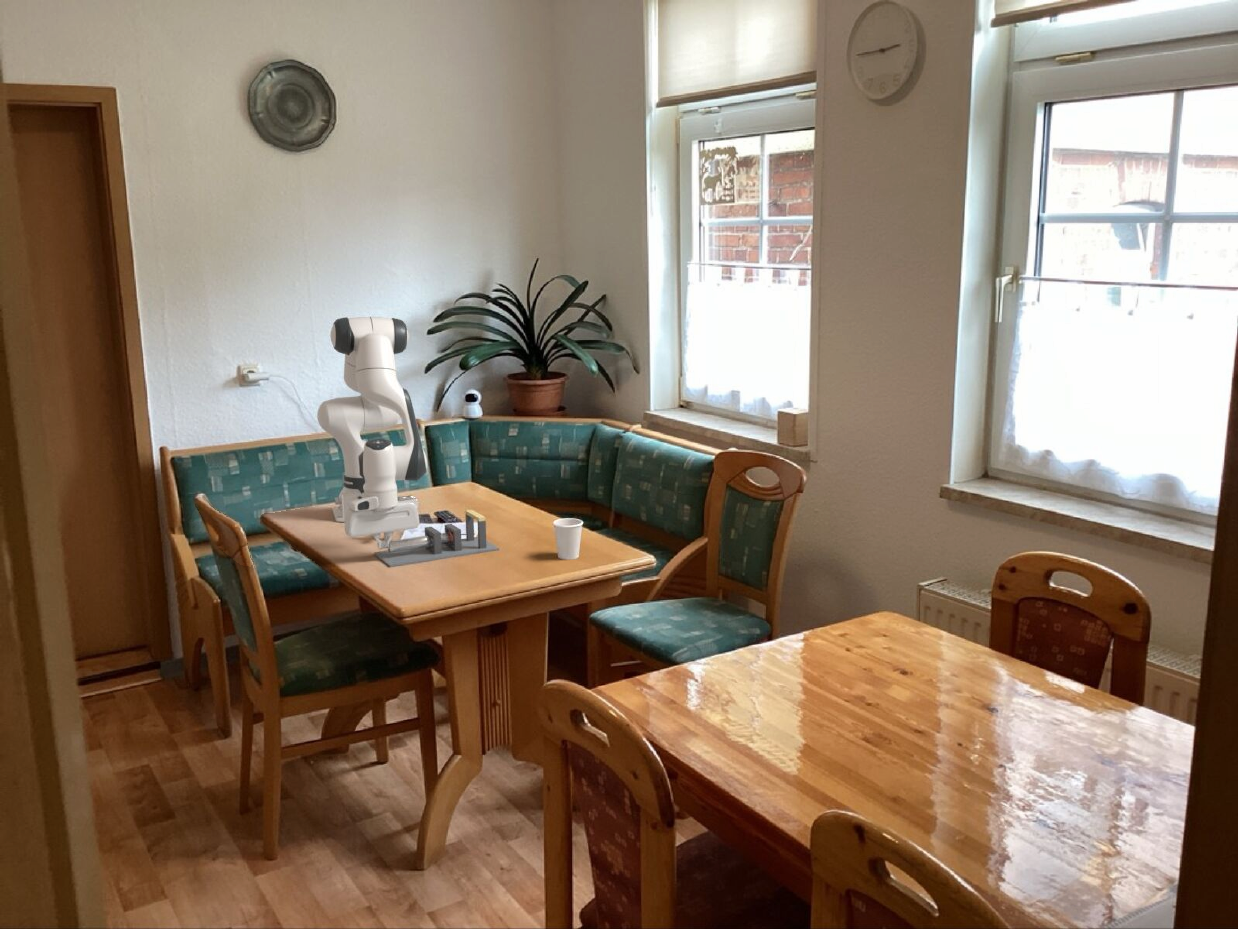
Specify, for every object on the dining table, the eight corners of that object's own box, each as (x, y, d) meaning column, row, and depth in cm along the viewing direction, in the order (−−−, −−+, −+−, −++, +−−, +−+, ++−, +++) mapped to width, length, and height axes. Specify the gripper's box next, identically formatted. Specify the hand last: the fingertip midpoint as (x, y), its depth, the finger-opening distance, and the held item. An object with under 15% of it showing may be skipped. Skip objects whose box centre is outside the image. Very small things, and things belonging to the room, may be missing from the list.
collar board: (374, 554, 301) (372, 521, 299) (479, 538, 317) (478, 506, 315) (390, 567, 289) (388, 533, 287) (498, 549, 305) (498, 517, 303)
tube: (387, 551, 297) (386, 539, 296) (454, 541, 307) (454, 529, 306) (391, 554, 294) (390, 542, 293) (459, 544, 304) (459, 532, 303)
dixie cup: (563, 562, 292) (562, 527, 290) (548, 555, 299) (547, 520, 297) (589, 557, 297) (588, 523, 295) (573, 550, 304) (573, 516, 302)
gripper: (414, 492, 300) (416, 539, 302) (341, 501, 290) (344, 550, 293) (421, 496, 294) (423, 545, 297) (347, 506, 284) (350, 556, 287)
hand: (383, 547), depth 295 cm, fingers closed
